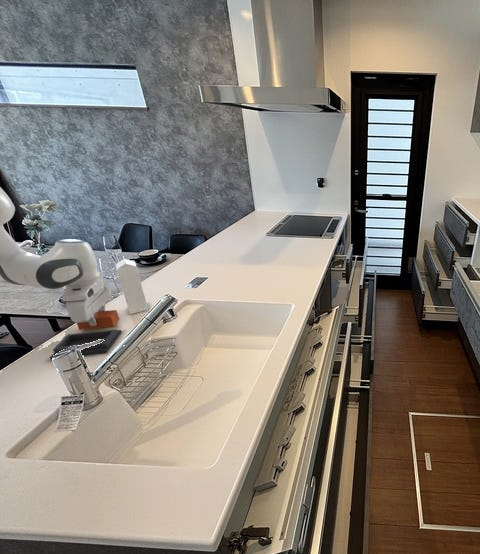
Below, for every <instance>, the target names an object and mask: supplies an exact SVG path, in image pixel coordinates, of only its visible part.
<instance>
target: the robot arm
mask: <svg viewBox="0 0 480 554" xmlns="http://www.w3.org/2000/svg"><path fill="white" fill-rule="evenodd" d="M15 212H16V206H15V204H14V202H13V201H12V199H11V198H10V197H9V195H8V194H7V193H6V192H5V190H4V189H3V188H2V187H1V186H0V277H1V278H2V279H3V280H4V281H6V282H7V283H9V284H12V285H15V286H16V285H17V286H28V287H32V288H33V287H35V288H41V289H48V290H57V289H58V290H59V289H61V288H64V287H65V288H64V291H63V292H62V294H61V300H62V301H63V302H65V308H66V311H67V313H68V316H69V318H70V320H71V321H72V322H73V323H75V324H77V323H82V322H87V321H88V322H89V324H90V326H96V325H97V323H98V322H97V319H95V318H94V314H95V313H96V312H99V311H106V303H107V302H108V301H109V299H111V297H112V291H111V289H110V286H109V284H108V282H107V281H106V280H104V278H103V276H102V273H101V272H100V270H99V269H98V260H97V257H96V254H95V252H94V250H93V247H92V246H91V244H90V243H89V242H87V241H86V240H84V239H83V240H82V239H76V238H75V239H74V238H73V239H72V238H67V239H65V238H63V239H59V240H56V241H55V243H54V245H53V247H52V248H50V250H48V251H47V252H45V253H43V255H40V254H34V253H31V252H29V251H27V250H25V249H23V248H21V246H20V245H19V244H18V243H17V242H16V240H15V239H14V238H13V237H12V236H11V234H9V233H8V231H7V230H6V229H5V226H4V225H5V224H6V223H8V222H9V221H10V220H11V219H12V218H13V217H14V215H15Z"/></svg>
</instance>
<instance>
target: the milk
mask: <svg viewBox="0 0 480 554" xmlns="http://www.w3.org/2000/svg"><path fill="white" fill-rule="evenodd" d="M122 257H123V259H122V260H120V261H118V262H117V263H116V264H115V268H116V274H117V277H118V280H119V283H120V286H121V289H122V293H123V296H124V299H125V303H126V306H127V309H128V312H129V315H133V314H137V313H141V312H146V311H149V306H148V304H147V300H146V299H147V298H146V295H145V292H144V289H143V286H142V281H141V278H140V273H139V271H138V267H137V264H136V261H134V260H130V259H127V258H125V256H124V255H122ZM144 308H145V309H144ZM140 309H141V310H140Z"/></svg>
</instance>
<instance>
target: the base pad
mask: <svg viewBox="0 0 480 554" xmlns="http://www.w3.org/2000/svg"><path fill="white" fill-rule="evenodd" d="M121 334H122V330H121V329H117V328H115V329H105V330H97V331H95V330H94V331H88V332H87V331H86V332H78V333H70V334H67V335H66V336H65V337H64V338H63V339H62V340H61V341H60V342H59V343H58V344H56V346H55V347H54V348H53V349H52V352H53V353H52V354H51V355H50V356H49V358H50V361H53V360H52V357H53V355H55V354H56V353H58V352H59V351H61V350H63V349H66V348H68V347H70V346H73V345H82V344H85V343H90V342H93V341H96V340H98V339H104V340H105V341H103V342H102V343H100V344H97V345H95V346H91V347H89V348H85V349H83V350H81V353H82V355H83V356H82V357H86V356H92V355H93V356H94V355H100V354H107V353H108V352H109V350H110V349H111V348H112V346H113V345H114V344H115V342H116V341H117V339H118V338H119V337H120V335H121Z"/></svg>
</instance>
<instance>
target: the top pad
mask: <svg viewBox="0 0 480 554" xmlns="http://www.w3.org/2000/svg"><path fill="white" fill-rule="evenodd" d="M94 318H95V319H97V322H98V323H97V325H96V326H90V324H89V322H88V321H87V322H82V323H76V325H77V328H78V330H79V331H80V330H81V331H83V330H92V329H100V328H110V327H115V326H116V324H117V323H118V321H120V317H119V314H118V310H117V309H113V310H112V309H111V310H105V311H99V312H98V311H97V312H96V313H95V314H94Z"/></svg>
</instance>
